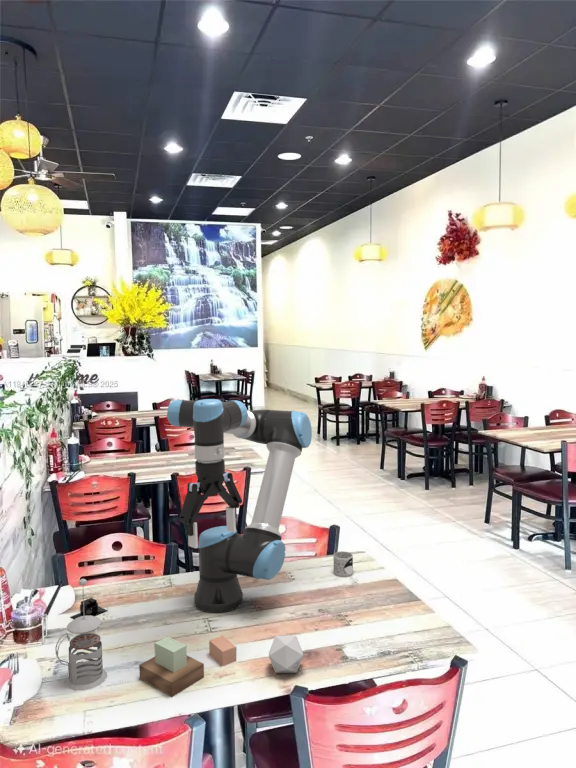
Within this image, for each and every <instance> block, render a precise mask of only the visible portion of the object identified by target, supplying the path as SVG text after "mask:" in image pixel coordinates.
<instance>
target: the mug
mask: <svg viewBox="0 0 576 768" xmlns="http://www.w3.org/2000/svg"><path fill="white" fill-rule="evenodd" d="M353 561H354V555H353V553H352V552H348V551H336V552H333V575H334V576H336V577H338V578H349V577H353V575H354V569H353V568H354V566H353V565H354V563H353Z"/></svg>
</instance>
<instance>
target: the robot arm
mask: <svg viewBox="0 0 576 768" xmlns="http://www.w3.org/2000/svg"><path fill="white" fill-rule="evenodd" d="M166 417H167V420H168V421H167V422H168V423H169V424H170V425H171V426H173V427H179V428H189V429H190V428H192V429H193V433H194V434H193V435H194V459H195V460H196V461H195V462H194V463H195V464H194V466H195V467H194V468H195V475H196V477H197V481H196V482H188V483H187V486H186V487H187V489H186V494H185V497H184V501H183V504H182V508H181V511H180V514H179V517H178V521H179V522H180V523H183V524H185V534H186V536H187V539H188V540H187V541H188V543H187V544H188V547H190V548H193V549H198V568H199V569H198V570H199V580H198V583H197V586H196V591H195V593H194V597H193V601H194V602H193V603H194V604H193V605H194V607H195V608H196V609H198V610H200V611H203V612H206V613H217V614H218V613H226V612H230V611H233V610H235V609H237V608H239V607H240V606H241V605H242V604H243V601H244V593H243V590H242V587H241V584H240V581H239V578H238V575H239V576H244V577H249V578H254V579H256V580H271V579H274V578H276V576H278V574H279V572H280V571H281V569H282V567H283V564H284V562H285V558H286V552H285V551H286V545H285V543H284V542H283V541H282V537H283V536H282V534H281V533H280V531H279V528H280V524H281V520H282V516H283V512H284V508H285V503H286V499H287V495H288V491H289V486H290V482H291V478H292V474H293V471H294V470H293V469H294V465H295V462H296V459H297V458H298V457H300V456H301V455H302V452H303V449H306V448H308V447H310V445H311V444H312V443H311V442H312V439H313V433H312V432H313V429H312V423H311V420H310V418H309V416H308V415H307V413H305V412H304V411H295V410H276V409H275V410H274V409H249V410H248V408H247V407H246V405H245V403H243V402H242V401H240V400H228V401H222V400H220V399H215V398H205V399H199V400H190V399H189V400H188V399H187V400H186V399H175V400H173V401H171V402H170V403H169V404H168V407H167V413H166ZM224 434H230V435H233V436H234V437H236V438H238V439H241V440H246V441H251V442H253V443H256V444H260V445H261V444H262V445H266V448H267V450H268V452H269V453H268V457H267V461H266V464H265V468H264V473H263V477H262V480H261V484H260V489H259V492H258V496H257V500H256V504H255V508H254V512H253V515H252V519H251V523H250V524H249V525H247V526H245V528H244V531H243V534H238V530H237V528H236V525H237V524H236V519H237V517H238V515H237V509H239V508H240V504H242V503H243V499H242V497H241V495H240V492H239V491H238V488H237V486H236V484H235V482H234V476H233V473H232V472H228V471H226V467H225V465H226V464H225V460H224V458H225V445H224V444H225V443H224V441H225V440H224V439H225V438H224V437H225V436H224ZM224 485H225V486H226V487H225V486H224ZM214 495H219V496H220V497H221V499H222V500H223V501H224V502H225V503H226V504H227V505H228V506H226V507H225V514H226V525H220V526H215V527H211V528H208V529H205V530H204V531H202V532H201V533H200V534H199V537H198V522H196V519H197V517H198V515H199V513H200V511H201V510H202V507H203V506H204V503H205V501H207V500H208V498H209V497H212V496H214Z"/></svg>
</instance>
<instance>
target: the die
mask: <svg viewBox="0 0 576 768" xmlns="http://www.w3.org/2000/svg"><path fill="white" fill-rule="evenodd" d="M268 658H269V660H270V664H271V665H272V667H273V670H274V673H275V674H292V673H293V674H295V673H298V671H299V668H300V665H301V663H302V660H303V658H304V653H303V649H302V647H301V645H300V642H299V638H298V637H297V635H274V637H273V641H272V644H271V646H270V649H269V652H268Z"/></svg>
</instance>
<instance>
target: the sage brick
mask: <svg viewBox="0 0 576 768" xmlns="http://www.w3.org/2000/svg"><path fill="white" fill-rule="evenodd" d="M187 651H188V649H187V645H186V644H184V643H181V641H178V640H176V639H173V638H172V637H170V636H165V637H164V638H162V639H160V640H157V641H156V642H154V657H155V663H157V664H159V665H161V666H163V667H164V668H166V669H168V670H170V671H172V672H176V671H178V670H180V669H181V668H183V667H185V666H186V665H187V656H188V655H187Z"/></svg>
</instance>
